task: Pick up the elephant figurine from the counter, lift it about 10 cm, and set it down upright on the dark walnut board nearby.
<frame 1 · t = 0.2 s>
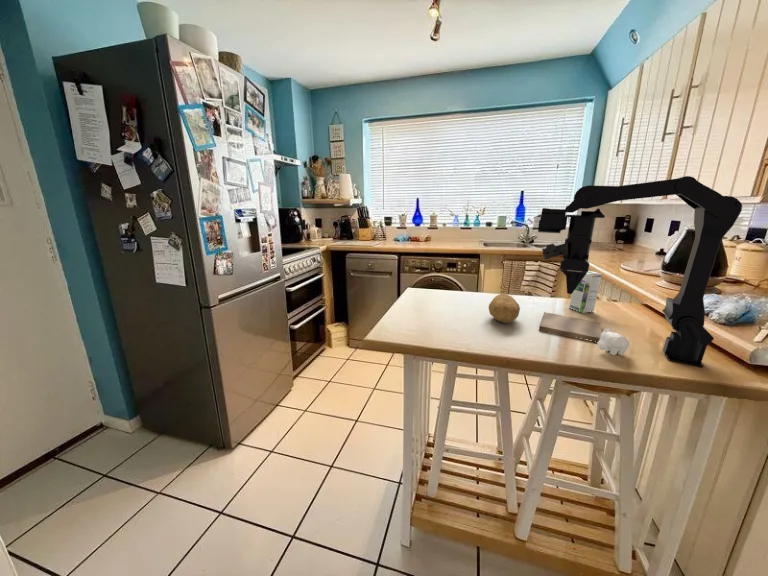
hand: (569, 289, 87), 14 cm above the counter, tool pointing down, fingers open, 9 cm apart
potato: (502, 321, 101), on the counter
syrup box: (580, 311, 111), on the counter
elephant figurine: (611, 353, 81), on the counter
walnut board: (569, 328, 95), on the counter
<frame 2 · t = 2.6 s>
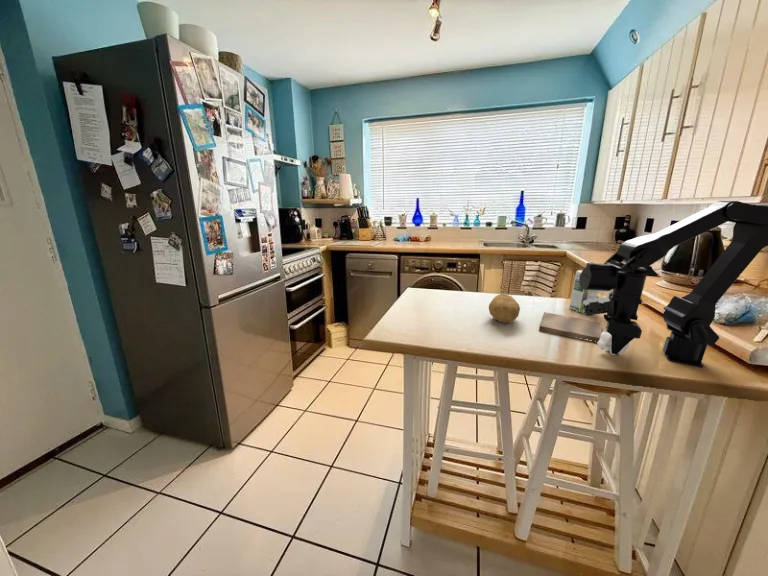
hand: (612, 348, 80), 1 cm above the counter, tool pointing down, fingers closed on elephant figurine, 6 cm apart
elephant figurine: (611, 353, 81), on the counter, touching gripper
everything else where it was.
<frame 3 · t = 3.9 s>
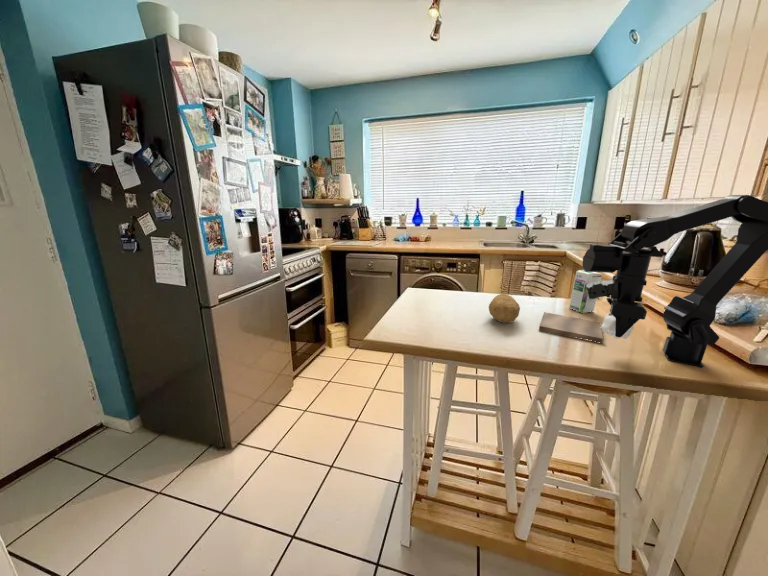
hand: (616, 332, 79), 6 cm above the counter, tool pointing down, fingers closed on elephant figurine, 6 cm apart
elephant figurine: (615, 337, 79), point 4 cm above the counter, touching gripper
everything else where it was.
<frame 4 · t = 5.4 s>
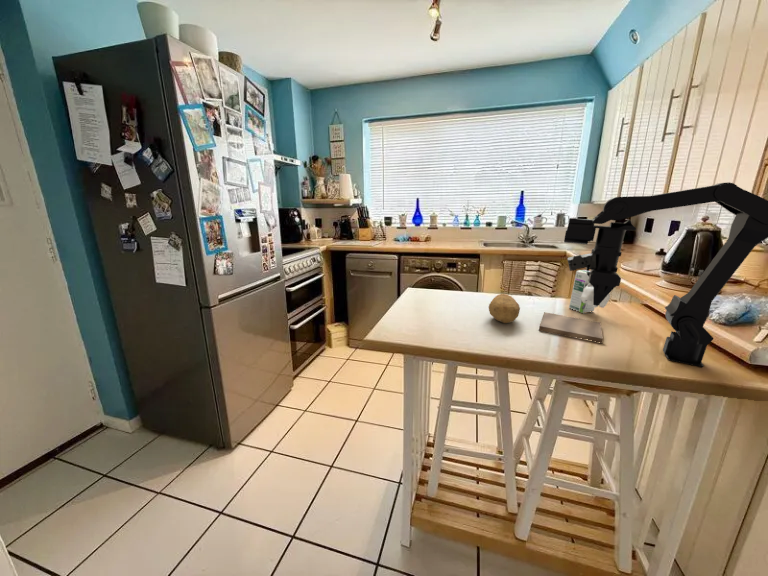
hand: (594, 302, 85), 11 cm above the counter, tool pointing down, fingers closed on elephant figurine, 6 cm apart
elephant figurine: (593, 306, 85), point 10 cm above the counter, touching gripper
everything else where it was.
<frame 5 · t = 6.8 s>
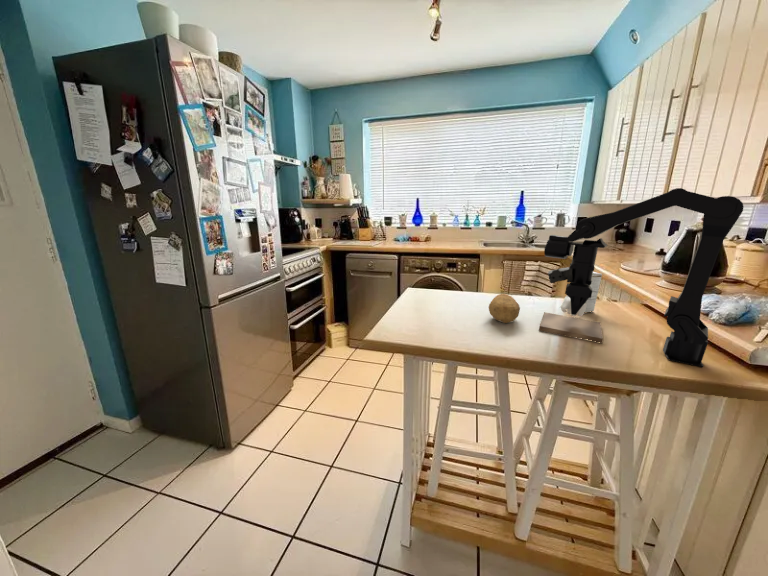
hand: (573, 311, 94), 6 cm above the counter, tool pointing down, fingers closed on elephant figurine, 6 cm apart
elephant figurine: (572, 315, 94), point 4 cm above the counter, touching gripper
everything else where it was.
when the fingers open (4 cm above the counter, at t = 7.9 s): elephant figurine drops 2 cm, resting on walnut board.
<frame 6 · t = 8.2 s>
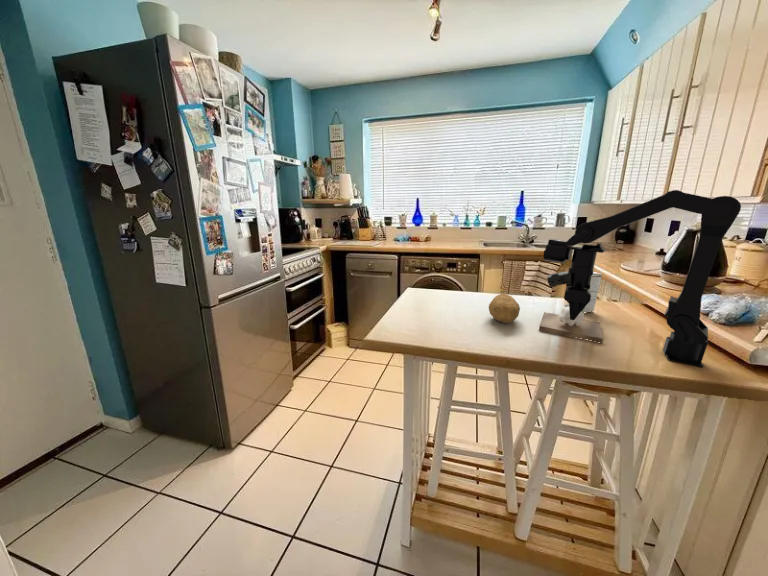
hand: (572, 315, 94), 4 cm above the counter, tool pointing down, fingers open, 9 cm apart
elephant figurine: (570, 324, 95), point 1 cm above the counter, touching walnut board
everything else where it was.
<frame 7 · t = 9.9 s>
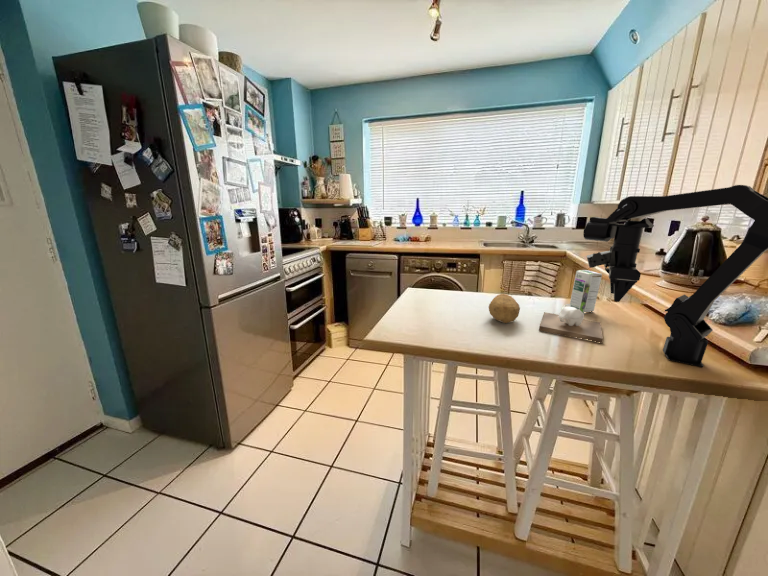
hand: (614, 297, 88), 12 cm above the counter, tool pointing down, fingers open, 9 cm apart
nothing on the counter moved.
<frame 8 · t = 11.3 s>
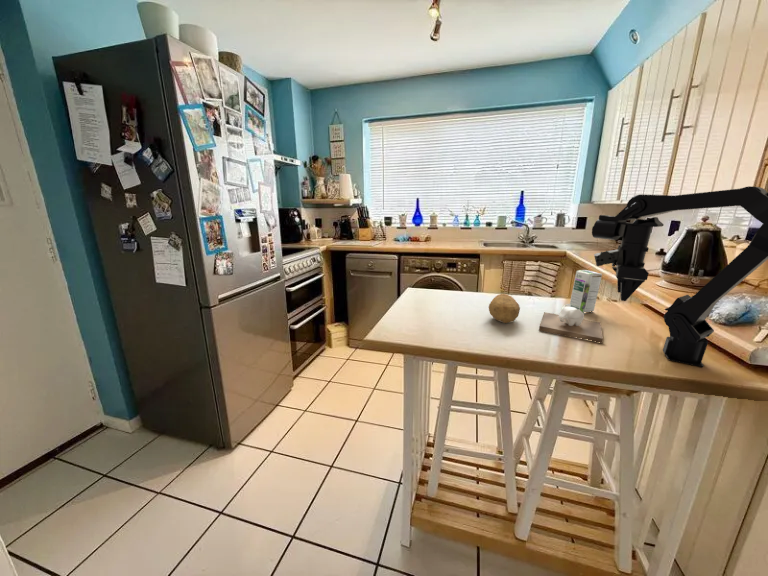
hand: (621, 296, 88), 12 cm above the counter, tool pointing down, fingers open, 9 cm apart
nothing on the counter moved.
at the end: elephant figurine inside the target area on the walnut board (0.3 cm from its centre), point 1.3 cm above the walnut board's base; elephant figurine tilted 0°; the gripper is holding nothing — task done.
